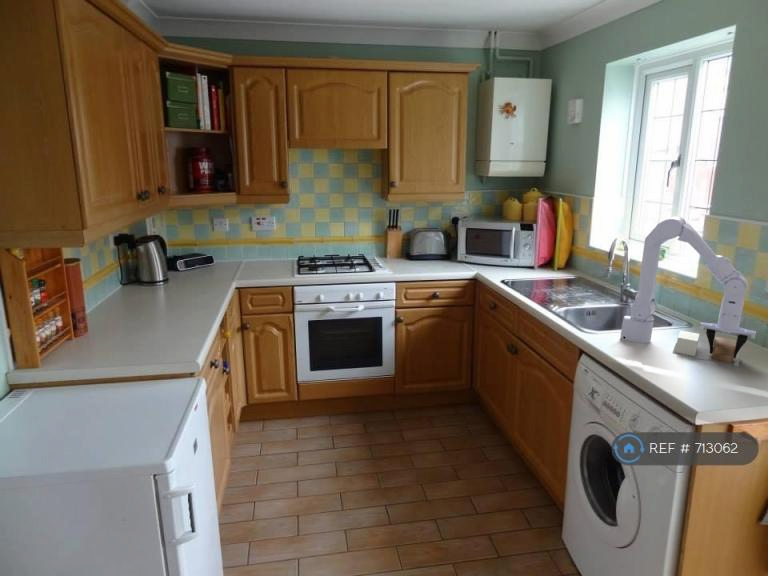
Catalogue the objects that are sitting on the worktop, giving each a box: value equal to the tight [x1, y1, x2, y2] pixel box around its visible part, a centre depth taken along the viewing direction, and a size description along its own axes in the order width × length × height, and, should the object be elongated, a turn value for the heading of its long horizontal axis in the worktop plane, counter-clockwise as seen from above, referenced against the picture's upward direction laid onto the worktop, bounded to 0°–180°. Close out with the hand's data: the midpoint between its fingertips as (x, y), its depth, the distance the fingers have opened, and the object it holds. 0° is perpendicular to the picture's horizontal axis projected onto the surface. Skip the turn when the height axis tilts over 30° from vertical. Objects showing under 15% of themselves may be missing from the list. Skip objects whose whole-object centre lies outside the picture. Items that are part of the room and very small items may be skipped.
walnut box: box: [711, 336, 737, 363], centre depth 168 cm, size 6×9×5 cm, turn 147°
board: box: [672, 342, 740, 367], centre depth 171 cm, size 18×12×1 cm, turn 57°
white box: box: [675, 330, 700, 356], centre depth 173 cm, size 6×9×5 cm, turn 147°
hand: (722, 354), depth 169 cm, fingers closed on walnut box, 6 cm apart
